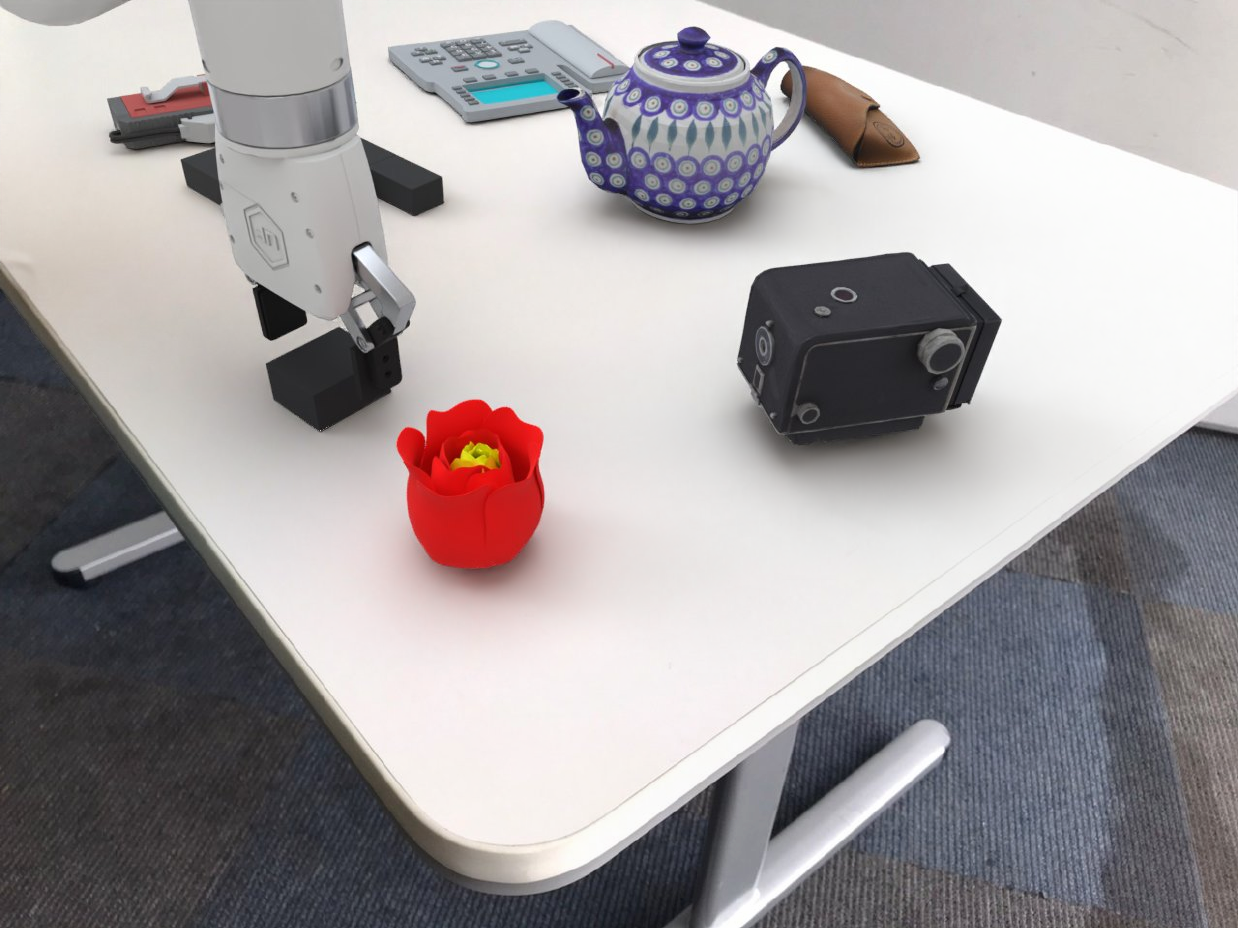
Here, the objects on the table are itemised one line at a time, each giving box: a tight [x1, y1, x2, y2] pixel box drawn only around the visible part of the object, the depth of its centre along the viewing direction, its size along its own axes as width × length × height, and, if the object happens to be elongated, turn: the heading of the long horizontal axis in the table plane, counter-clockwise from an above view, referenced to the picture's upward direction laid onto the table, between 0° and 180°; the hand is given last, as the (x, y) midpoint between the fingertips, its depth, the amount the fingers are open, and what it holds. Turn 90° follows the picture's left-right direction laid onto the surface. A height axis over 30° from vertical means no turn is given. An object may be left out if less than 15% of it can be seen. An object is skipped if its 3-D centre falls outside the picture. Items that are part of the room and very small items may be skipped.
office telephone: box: [387, 19, 631, 123], centre depth 112 cm, size 23×3×20 cm
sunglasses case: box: [780, 64, 921, 168], centre depth 106 cm, size 18×7×7 cm
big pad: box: [180, 136, 445, 216], centre depth 89 cm, size 14×18×2 cm
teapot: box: [556, 26, 807, 225], centre depth 88 cm, size 25×15×15 cm, turn 116°
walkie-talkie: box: [106, 73, 215, 150], centre depth 98 cm, size 9×4×20 cm
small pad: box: [265, 326, 392, 432], centre depth 68 cm, size 6×5×3 cm
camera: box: [736, 251, 1003, 446], centre depth 66 cm, size 11×11×15 cm
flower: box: [396, 398, 546, 570], centre depth 57 cm, size 8×8×8 cm
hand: (332, 360), depth 67 cm, fingers open, 9 cm apart
